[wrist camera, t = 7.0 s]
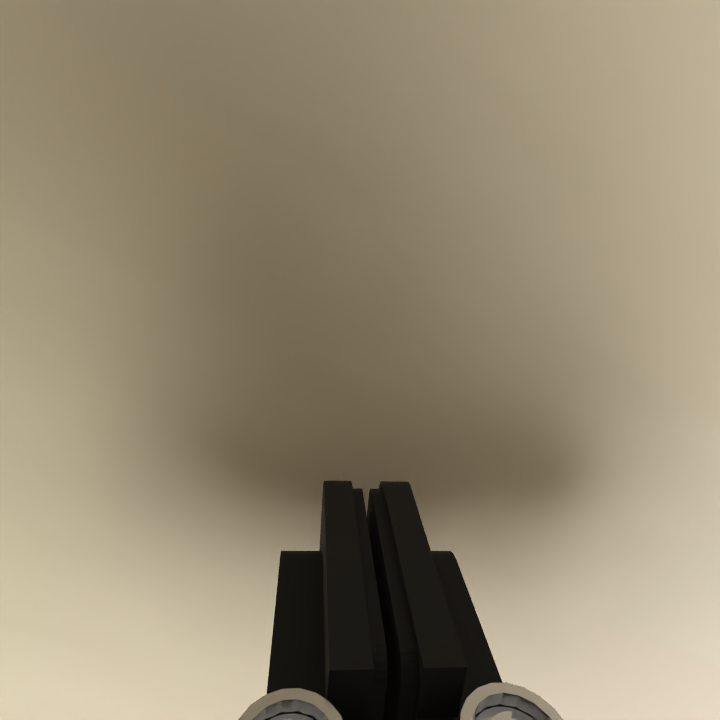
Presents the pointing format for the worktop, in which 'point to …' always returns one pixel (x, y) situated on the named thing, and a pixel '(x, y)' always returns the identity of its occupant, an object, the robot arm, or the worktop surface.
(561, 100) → the worktop surface
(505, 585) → the worktop surface
